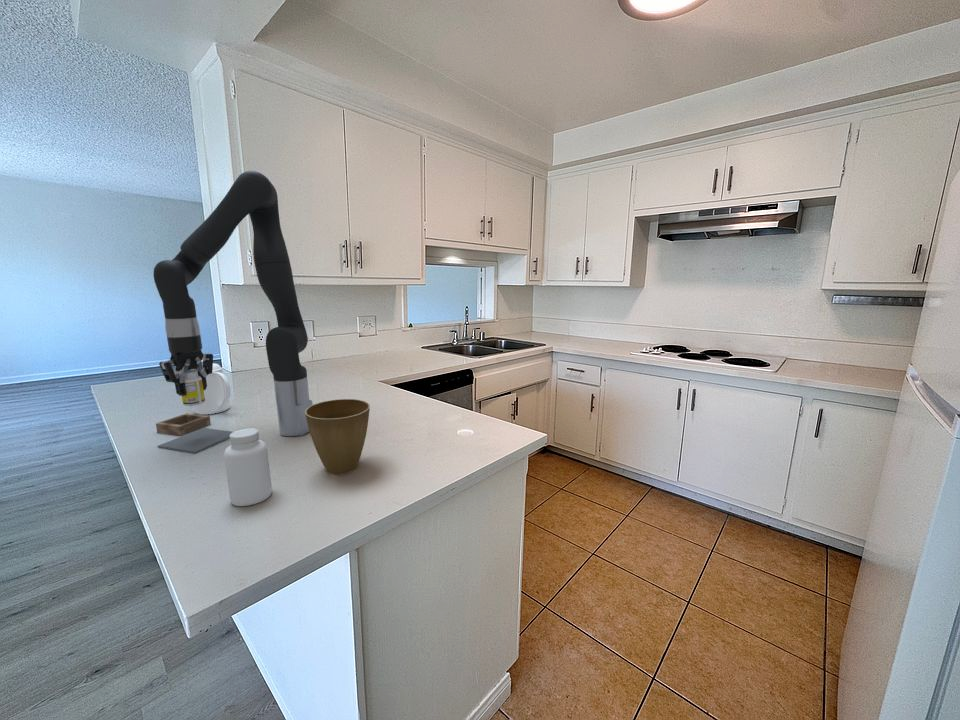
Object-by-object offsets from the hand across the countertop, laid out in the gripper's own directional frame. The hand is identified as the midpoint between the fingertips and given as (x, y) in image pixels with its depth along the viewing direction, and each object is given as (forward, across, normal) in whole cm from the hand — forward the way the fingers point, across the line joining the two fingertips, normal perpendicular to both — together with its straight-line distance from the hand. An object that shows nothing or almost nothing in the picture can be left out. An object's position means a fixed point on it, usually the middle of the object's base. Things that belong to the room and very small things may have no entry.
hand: (192, 392), depth 111 cm
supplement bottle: (+4, 0, 0) cm, 4 cm away
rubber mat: (+15, 0, 0) cm, 15 cm away
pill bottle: (+15, -20, -40) cm, 47 cm away
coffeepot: (+15, +22, +22) cm, 35 cm away
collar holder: (+15, +6, +14) cm, 21 cm away
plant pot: (+15, -3, -51) cm, 53 cm away
